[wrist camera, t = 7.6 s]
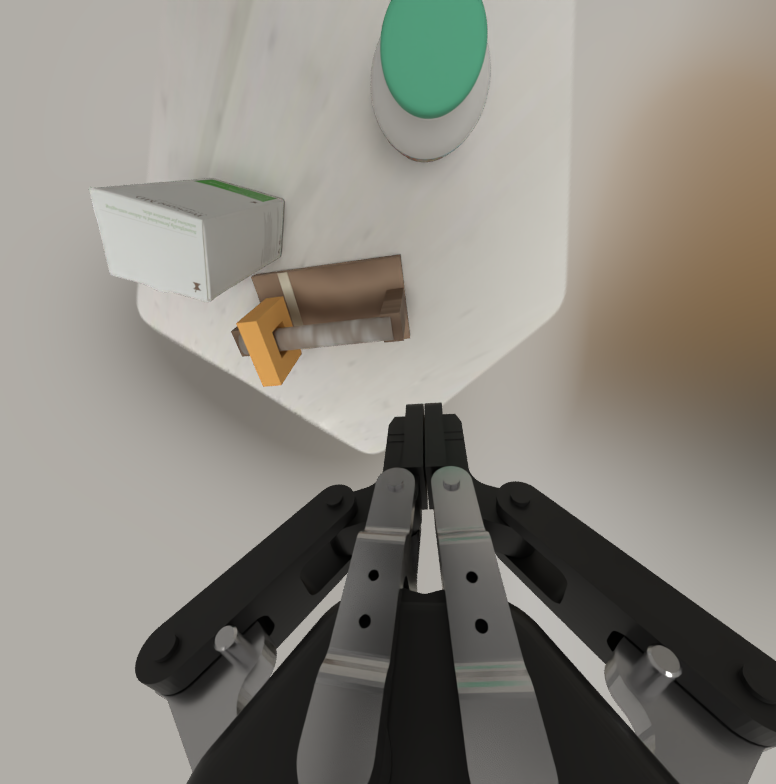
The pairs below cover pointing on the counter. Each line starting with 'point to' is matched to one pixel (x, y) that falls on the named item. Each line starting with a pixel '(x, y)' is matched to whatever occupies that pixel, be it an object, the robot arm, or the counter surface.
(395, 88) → the milk bottle
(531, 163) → the counter surface
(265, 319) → the collar
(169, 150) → the counter surface
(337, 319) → the pipe stand
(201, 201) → the skincare box
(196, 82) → the counter surface
